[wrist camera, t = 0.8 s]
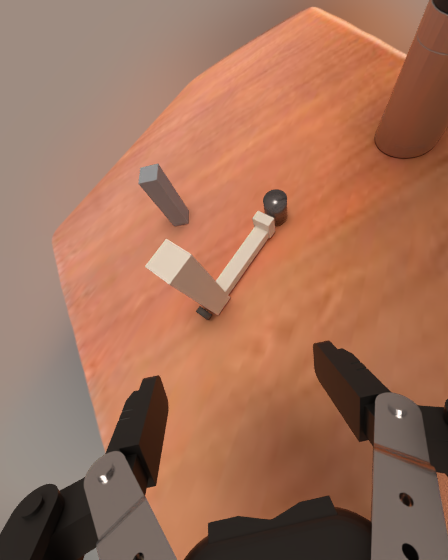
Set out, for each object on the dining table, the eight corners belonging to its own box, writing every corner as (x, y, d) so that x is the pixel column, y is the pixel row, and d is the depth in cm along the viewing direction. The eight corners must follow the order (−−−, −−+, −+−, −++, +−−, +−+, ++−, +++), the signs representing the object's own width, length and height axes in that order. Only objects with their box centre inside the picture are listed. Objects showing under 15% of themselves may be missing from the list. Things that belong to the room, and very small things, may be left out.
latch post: (188, 210, 46) (158, 163, 35) (188, 223, 45) (156, 179, 34) (174, 213, 47) (140, 167, 36) (174, 226, 46) (138, 183, 35)
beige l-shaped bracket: (259, 223, 41) (242, 139, 25) (276, 231, 39) (270, 148, 24) (196, 310, 38) (135, 278, 23) (212, 323, 37) (159, 297, 21)
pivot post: (268, 207, 42) (266, 188, 37) (288, 209, 41) (289, 190, 36) (263, 224, 41) (260, 208, 36) (284, 227, 40) (284, 210, 35)
